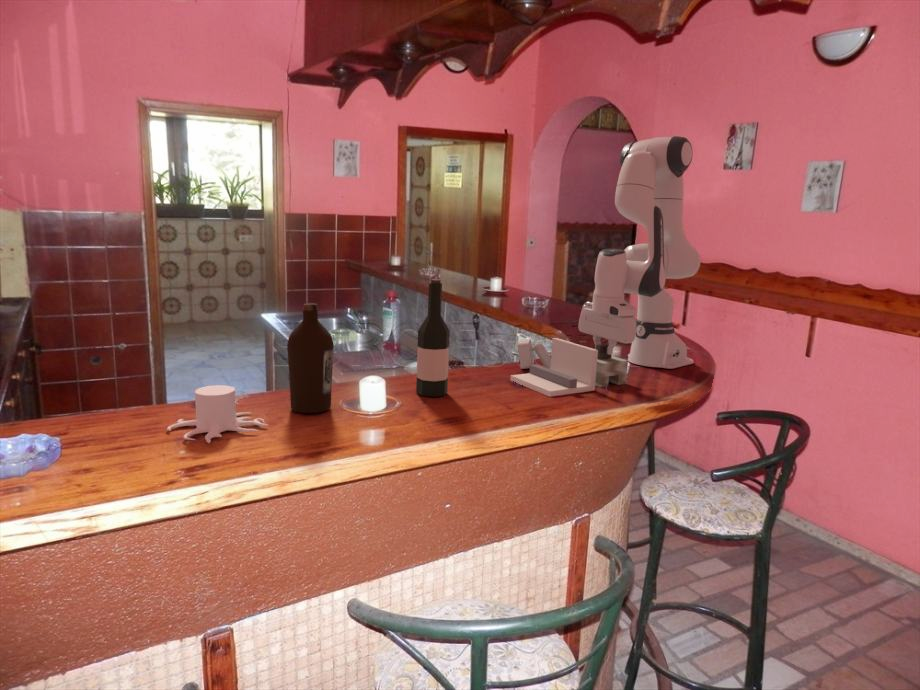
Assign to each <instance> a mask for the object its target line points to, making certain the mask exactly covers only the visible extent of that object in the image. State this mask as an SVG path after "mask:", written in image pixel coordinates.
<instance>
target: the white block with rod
mask: <svg viewBox="0 0 920 690" xmlns="http://www.w3.org/2000/svg"><path fill="white" fill-rule="evenodd" d="M517 352H518V358H519V365H520V366H519V367H520V369H521V370H524V369H530V365H535V360H534V352H535V353H536V355H537V357H538V358H539V360H540V362H541V363H542V366H543V367H546V368H548V369H550V365H551V355H550V354H549V353H548V351H547V349H546V348H545V346H544V345H543V344H542V343H541V342H536V343H535V344H534V345H533V344H532V339H531V338H527V339H520V340H519V341H518V342H517Z"/></svg>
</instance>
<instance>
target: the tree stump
mask: <svg viewBox="0 0 920 690" xmlns="http://www.w3.org/2000/svg"><path fill="white" fill-rule="evenodd" d="M248 394H249V393H248V392H247V393H246V394H236V388H235V387H233V386H230V385H224V384H222V385H221V384H220V385H219V384H217V385H207V386H202V387H198V388H197V389H195V391H194V398H195V399H194V402H195V403H194V404H195V419H191V420H185V419H184V418H180V419H178V420H176V423H174V424H171V425H169V426H167V428H166V430H167V431H169V432H170V431H172V429H175V428H180V427H188V426H196V428H194V429H192V430H191V431H189V432H186V433H185V434H184V435H183V436H182V438H183V440H188V441H196V439H195V438H193V437H192V438H191V437H190V436H193V435H196V434H197V435H198V434H203V433H207V434H205V436H204V439H205V441H206V443H208V444H211V439H212V438H222V437H223V436H222V434H221V433H222V432H227V431H233V432H246V433H247V432H248V433H249V432H250V433H251V432H254V433H256V432H259V431H260V430H258V429H254V428H245V427H244V426H249V425H255V426H262V427H269V424H268V423H266V422H265V419H263V418H261V417H258V418H254V419H253V420H249V419H252V417H250V416H242V415H252V414H253V412H250V411H249V412H247V411H246V412H243V411H242V412H237V409H236V407H237V406H236V404H237V405H240V403H239V402H238V401H239V400H241V399H244V398H246V397H250V395H248ZM238 416H241V417H238ZM260 421H261V422H260ZM243 427H244V428H243Z"/></svg>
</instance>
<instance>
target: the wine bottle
mask: <svg viewBox="0 0 920 690" xmlns="http://www.w3.org/2000/svg"><path fill="white" fill-rule="evenodd" d="M442 298H443V282H441V279H438V278H432V279H430V282H428V300H427V301H428V304H427V306H428V307H427V316H426V317H425V319H424V321H423V322H422V324H421V325H420V327H419V328H418V330H417V353H416V354H417V356H416V357H417V358H416V384H415V385H416V386H415V387H416V389H415V390H416V394H418V395H420V396H423V397H429V398H430V397H431V398H435V397H442V396H445V395H446V394H447V393H448V386H449V385H448V384H449V383H448V382H449V363H450V361H449V360H450V359H449V358H450V357H449V356H450V355H449V354H450V337H451V336H450V329H449V327H448V326H447V324H446V321H445V319H444V318H443V316H442V302H443V301H442Z"/></svg>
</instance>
